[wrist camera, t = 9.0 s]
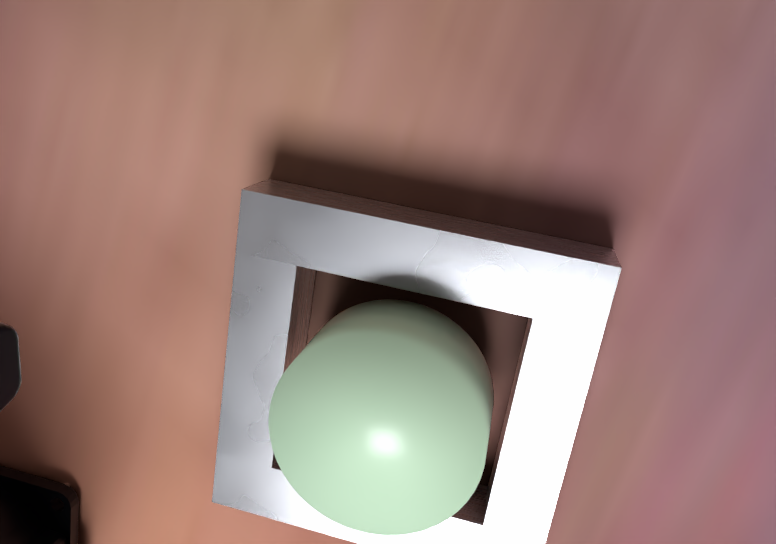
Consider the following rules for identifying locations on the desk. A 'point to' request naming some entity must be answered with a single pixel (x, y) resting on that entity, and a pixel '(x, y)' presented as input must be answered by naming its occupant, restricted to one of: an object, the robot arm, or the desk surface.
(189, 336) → the desk surface
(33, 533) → the robot arm
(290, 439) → the button
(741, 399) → the desk surface
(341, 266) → the button housing
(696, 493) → the desk surface
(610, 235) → the desk surface
